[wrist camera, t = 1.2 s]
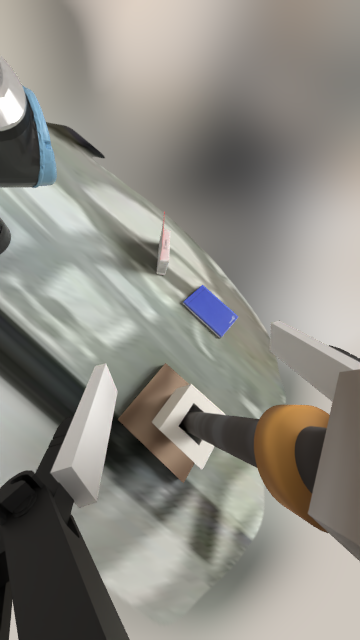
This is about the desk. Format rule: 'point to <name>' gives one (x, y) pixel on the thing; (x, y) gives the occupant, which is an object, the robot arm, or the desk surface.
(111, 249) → the desk surface
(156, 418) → the sleeve
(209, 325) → the hard drive
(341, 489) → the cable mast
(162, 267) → the ink cartridge box
